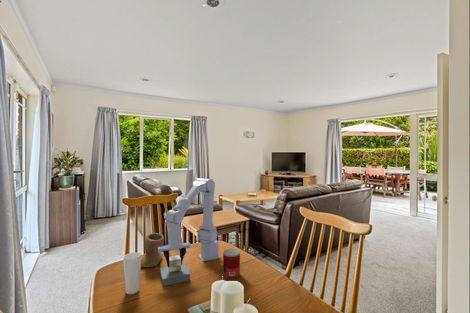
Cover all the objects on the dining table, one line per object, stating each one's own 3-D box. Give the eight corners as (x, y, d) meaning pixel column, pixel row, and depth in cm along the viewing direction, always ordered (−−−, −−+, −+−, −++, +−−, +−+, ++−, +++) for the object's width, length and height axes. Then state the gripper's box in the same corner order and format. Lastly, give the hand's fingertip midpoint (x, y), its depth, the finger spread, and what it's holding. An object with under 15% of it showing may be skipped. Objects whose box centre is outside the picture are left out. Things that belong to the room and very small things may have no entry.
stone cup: (160, 269, 119) (160, 239, 119) (136, 269, 118) (136, 239, 118) (168, 256, 134) (168, 229, 134) (147, 256, 134) (146, 229, 134)
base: (184, 268, 119) (184, 262, 119) (190, 280, 108) (190, 273, 108) (159, 273, 114) (159, 267, 114) (162, 286, 103) (162, 279, 103)
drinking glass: (130, 298, 95) (129, 260, 94) (120, 292, 98) (119, 256, 98) (144, 289, 100) (144, 254, 100) (134, 285, 104) (134, 250, 104)
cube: (179, 265, 114) (179, 254, 114) (181, 269, 110) (181, 259, 109) (168, 267, 112) (168, 256, 112) (169, 272, 108) (169, 261, 108)
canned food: (243, 274, 113) (243, 251, 113) (231, 281, 107) (231, 256, 107) (231, 269, 118) (231, 247, 118) (219, 275, 112) (219, 252, 112)
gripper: (159, 241, 104) (159, 272, 104) (191, 236, 110) (191, 266, 110) (157, 236, 111) (157, 265, 111) (188, 232, 116) (188, 259, 117)
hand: (174, 265), depth 111 cm, fingers closed on cube, 5 cm apart
